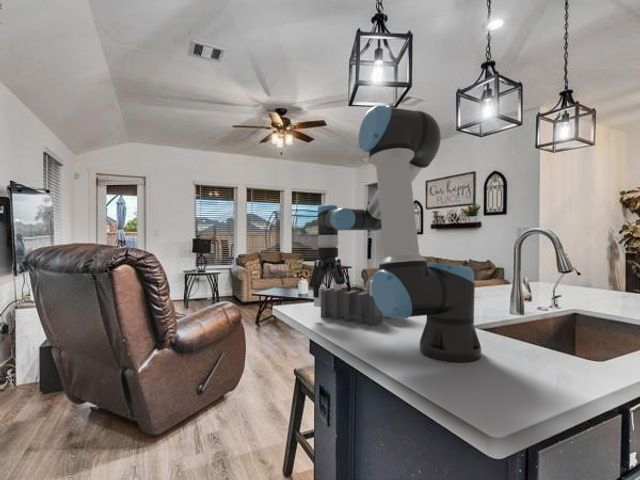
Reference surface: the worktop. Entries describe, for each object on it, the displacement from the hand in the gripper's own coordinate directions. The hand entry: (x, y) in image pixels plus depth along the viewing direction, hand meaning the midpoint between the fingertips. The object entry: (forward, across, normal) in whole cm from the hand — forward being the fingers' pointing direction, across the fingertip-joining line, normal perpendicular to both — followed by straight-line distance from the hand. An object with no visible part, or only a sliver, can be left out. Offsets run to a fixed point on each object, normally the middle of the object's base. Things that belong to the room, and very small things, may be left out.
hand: (328, 303), depth 136 cm
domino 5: (+5, 0, +20) cm, 20 cm away
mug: (+5, -14, +17) cm, 22 cm away
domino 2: (+5, 0, +4) cm, 7 cm away
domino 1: (+5, 0, 0) cm, 5 cm away
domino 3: (+5, 0, +10) cm, 11 cm away
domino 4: (+5, 0, +14) cm, 15 cm away
